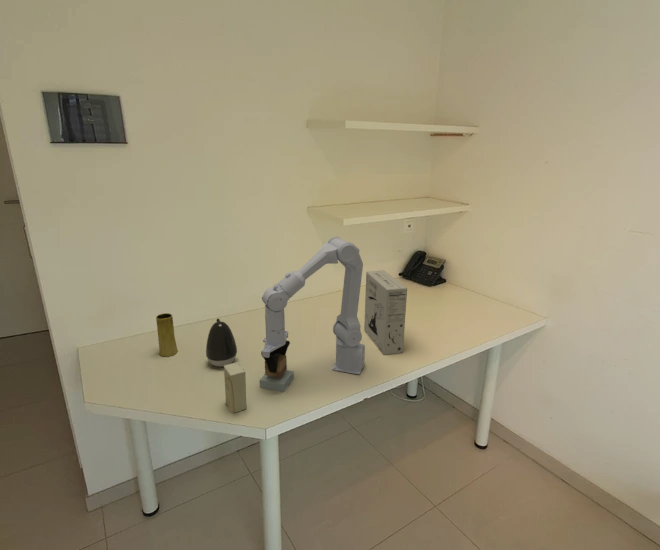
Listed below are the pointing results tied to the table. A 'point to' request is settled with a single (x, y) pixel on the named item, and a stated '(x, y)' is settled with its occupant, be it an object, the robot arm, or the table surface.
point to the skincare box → (235, 387)
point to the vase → (166, 335)
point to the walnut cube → (278, 367)
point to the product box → (385, 311)
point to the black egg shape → (220, 345)
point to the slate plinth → (277, 381)
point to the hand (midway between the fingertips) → (276, 367)
